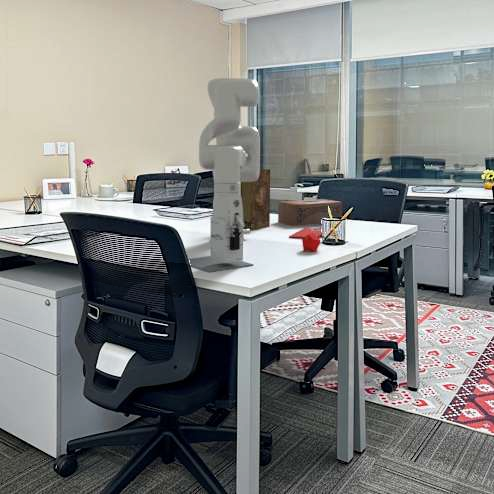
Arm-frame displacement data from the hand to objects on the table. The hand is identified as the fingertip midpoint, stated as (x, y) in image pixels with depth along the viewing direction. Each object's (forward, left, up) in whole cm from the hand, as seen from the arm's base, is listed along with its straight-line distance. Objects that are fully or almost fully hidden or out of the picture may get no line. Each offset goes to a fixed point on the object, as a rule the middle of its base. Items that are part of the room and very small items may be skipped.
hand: (226, 247), depth 173 cm
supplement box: (0, 0, -4) cm, 4 cm away
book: (-55, -57, -6) cm, 79 cm away
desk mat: (+1, -5, -6) cm, 8 cm away
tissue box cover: (-86, -56, -6) cm, 103 cm away
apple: (-38, -4, -6) cm, 39 cm away
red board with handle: (-66, -30, -6) cm, 72 cm away
